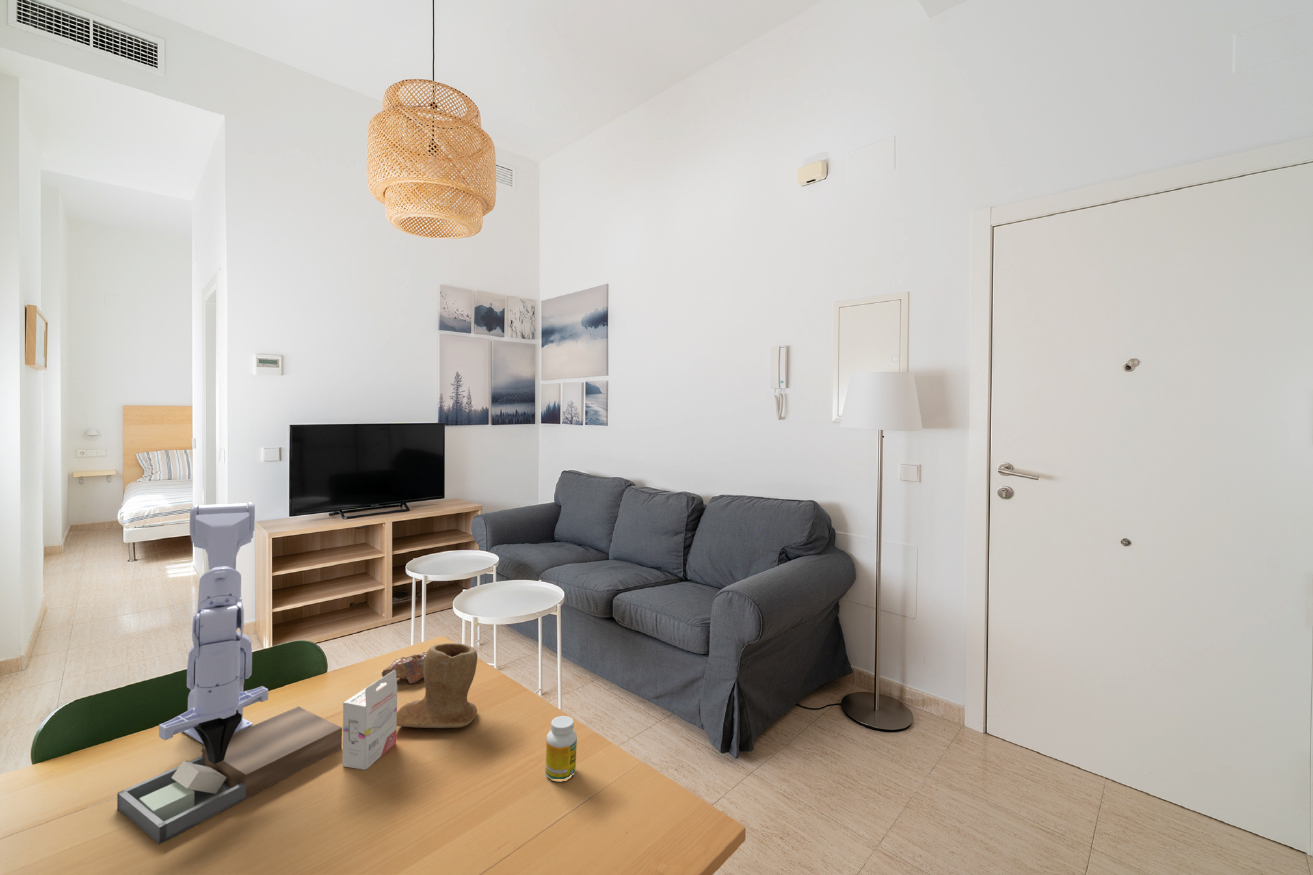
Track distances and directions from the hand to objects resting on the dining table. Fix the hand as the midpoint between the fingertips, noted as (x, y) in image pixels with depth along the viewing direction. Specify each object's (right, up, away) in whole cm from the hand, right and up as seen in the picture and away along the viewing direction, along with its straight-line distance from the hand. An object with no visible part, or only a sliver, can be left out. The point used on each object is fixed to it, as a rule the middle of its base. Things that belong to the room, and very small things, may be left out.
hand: (216, 760), depth 91 cm
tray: (-2, -5, -4) cm, 6 cm away
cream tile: (-2, -3, -3) cm, 4 cm away
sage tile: (-3, -2, -6) cm, 7 cm away
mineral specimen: (+14, -4, +40) cm, 43 cm away
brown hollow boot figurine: (+28, -5, +23) cm, 37 cm away
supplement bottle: (+56, -7, +8) cm, 57 cm away
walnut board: (+4, -5, +8) cm, 10 cm away
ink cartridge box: (+20, -5, +11) cm, 23 cm away
